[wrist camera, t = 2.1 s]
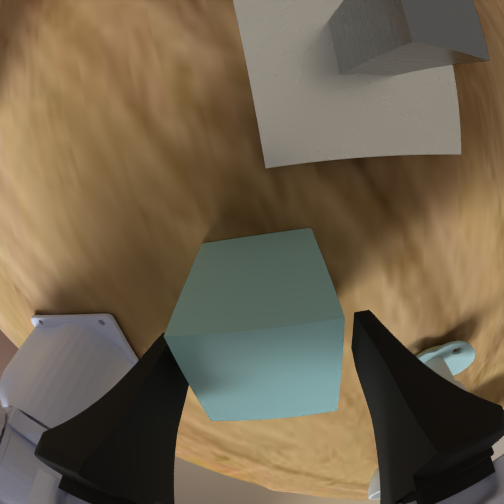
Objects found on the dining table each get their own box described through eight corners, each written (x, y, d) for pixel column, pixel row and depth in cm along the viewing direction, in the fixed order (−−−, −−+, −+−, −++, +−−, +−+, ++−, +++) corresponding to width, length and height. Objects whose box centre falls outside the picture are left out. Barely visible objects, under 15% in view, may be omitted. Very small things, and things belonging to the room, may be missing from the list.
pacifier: (452, 366, 19) (467, 322, 16) (476, 417, 14) (502, 380, 11) (384, 392, 20) (388, 352, 18) (400, 451, 15) (414, 424, 12)
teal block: (225, 324, 16) (211, 420, 10) (202, 243, 14) (163, 336, 8) (316, 313, 16) (337, 410, 10) (310, 227, 13) (344, 317, 7)
